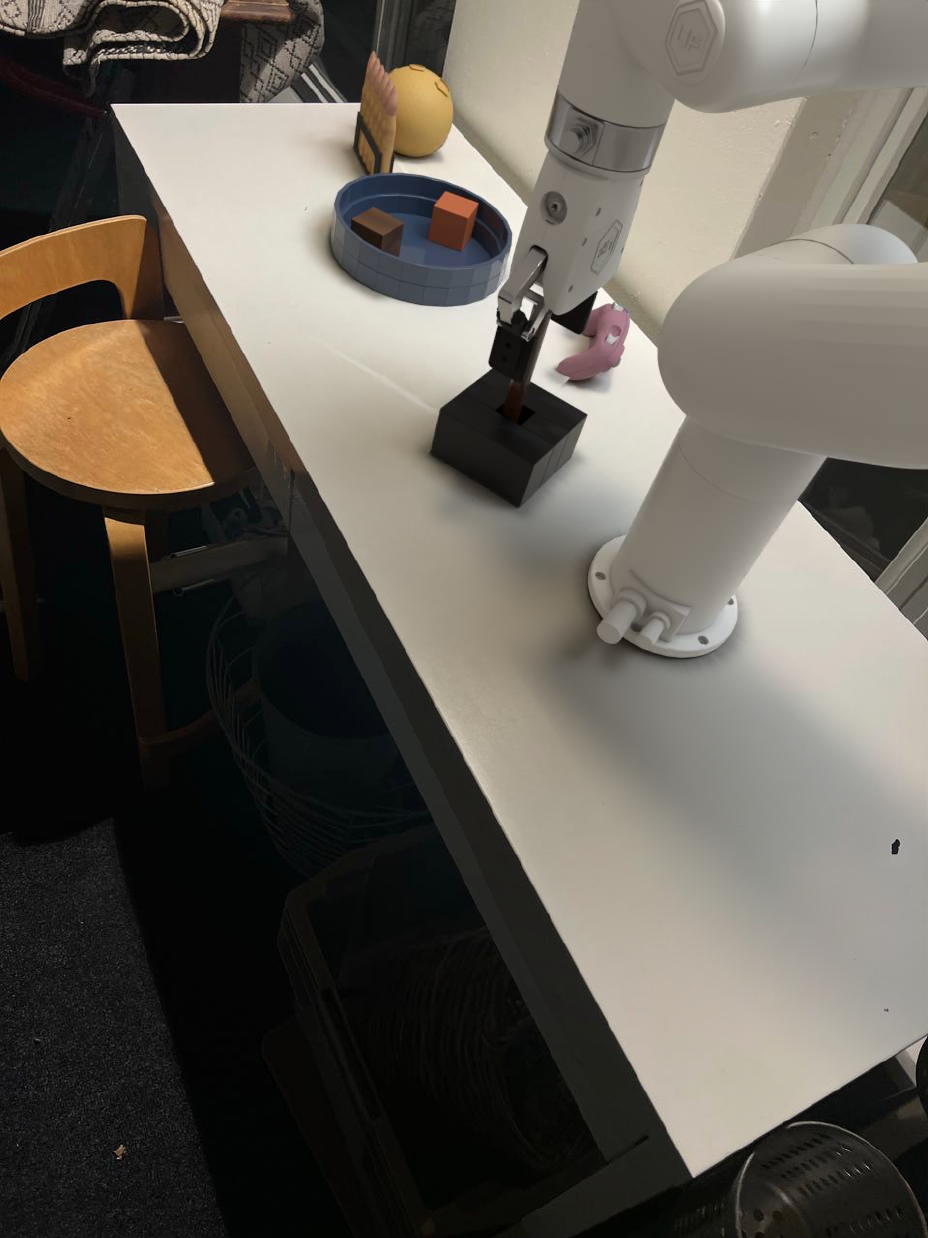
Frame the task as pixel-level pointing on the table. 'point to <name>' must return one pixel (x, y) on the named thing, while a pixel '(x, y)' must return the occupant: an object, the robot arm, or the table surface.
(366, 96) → the ammunition clip
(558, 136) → the robot arm
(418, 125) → the stress ball
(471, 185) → the table surface
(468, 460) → the stick stand
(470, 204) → the terracotta block
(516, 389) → the stirring stick
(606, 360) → the video game controller
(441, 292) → the bowl
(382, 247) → the walnut block
